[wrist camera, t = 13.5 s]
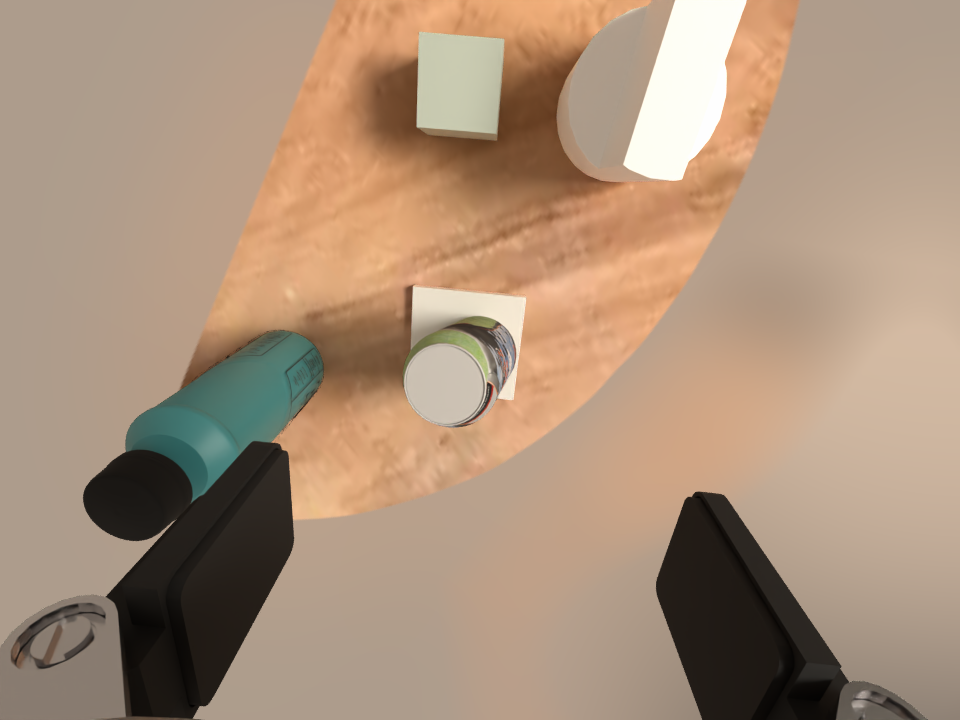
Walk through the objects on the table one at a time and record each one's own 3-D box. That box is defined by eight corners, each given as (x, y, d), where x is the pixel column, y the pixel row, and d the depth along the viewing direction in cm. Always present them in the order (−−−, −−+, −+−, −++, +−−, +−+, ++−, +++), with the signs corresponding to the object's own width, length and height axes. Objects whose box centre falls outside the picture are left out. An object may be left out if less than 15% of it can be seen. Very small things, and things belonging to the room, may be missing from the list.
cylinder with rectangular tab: (578, 22, 30) (624, -73, 19) (707, 56, 31) (826, -17, 20) (541, 165, 34) (562, 155, 22) (659, 195, 34) (737, 200, 23)
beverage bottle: (267, 310, 38) (46, 429, 20) (343, 339, 39) (199, 480, 20) (251, 377, 41) (41, 540, 22) (324, 403, 41) (179, 583, 23)
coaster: (414, 284, 37) (413, 286, 36) (525, 295, 37) (526, 297, 36) (410, 386, 40) (409, 389, 40) (513, 396, 40) (513, 400, 40)
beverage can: (482, 397, 39) (465, 474, 28) (416, 340, 38) (370, 396, 27) (534, 345, 37) (538, 404, 26) (466, 284, 36) (439, 318, 25)
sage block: (431, 54, 32) (418, 32, 27) (503, 60, 31) (504, 38, 27) (428, 135, 33) (416, 127, 29) (497, 140, 33) (496, 133, 29)
